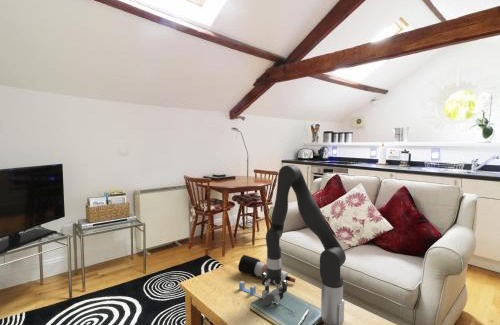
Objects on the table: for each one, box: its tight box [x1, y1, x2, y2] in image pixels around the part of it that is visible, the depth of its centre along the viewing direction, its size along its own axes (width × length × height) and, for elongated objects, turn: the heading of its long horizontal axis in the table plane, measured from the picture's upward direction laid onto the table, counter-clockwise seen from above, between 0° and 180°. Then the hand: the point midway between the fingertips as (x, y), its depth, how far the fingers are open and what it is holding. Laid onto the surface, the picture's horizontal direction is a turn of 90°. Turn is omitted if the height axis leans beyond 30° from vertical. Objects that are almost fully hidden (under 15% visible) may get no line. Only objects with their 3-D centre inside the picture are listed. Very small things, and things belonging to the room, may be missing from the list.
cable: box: [237, 254, 296, 283], centre depth 159 cm, size 10×34×10 cm
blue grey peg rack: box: [238, 280, 281, 303], centre depth 141 cm, size 24×2×4 cm, turn 52°
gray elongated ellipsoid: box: [261, 288, 279, 307], centre depth 136 cm, size 14×4×4 cm, turn 142°
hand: (273, 296), depth 139 cm, fingers open, 7 cm apart
